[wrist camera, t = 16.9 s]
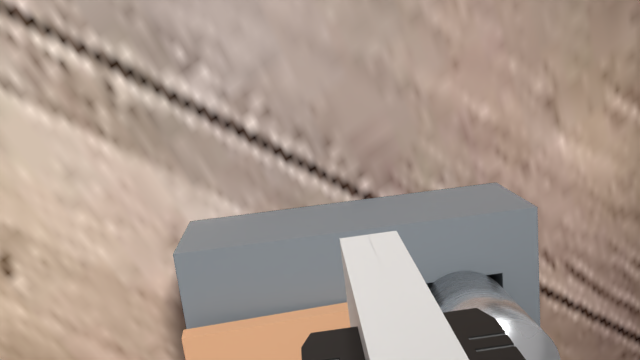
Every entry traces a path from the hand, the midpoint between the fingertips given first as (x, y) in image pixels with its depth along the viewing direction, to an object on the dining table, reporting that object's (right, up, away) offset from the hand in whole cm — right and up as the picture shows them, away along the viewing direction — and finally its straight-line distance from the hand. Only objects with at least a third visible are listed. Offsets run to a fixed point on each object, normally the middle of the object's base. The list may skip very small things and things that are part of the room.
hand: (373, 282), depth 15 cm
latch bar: (-3, -6, +16) cm, 18 cm away
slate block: (+1, -5, +23) cm, 23 cm away
